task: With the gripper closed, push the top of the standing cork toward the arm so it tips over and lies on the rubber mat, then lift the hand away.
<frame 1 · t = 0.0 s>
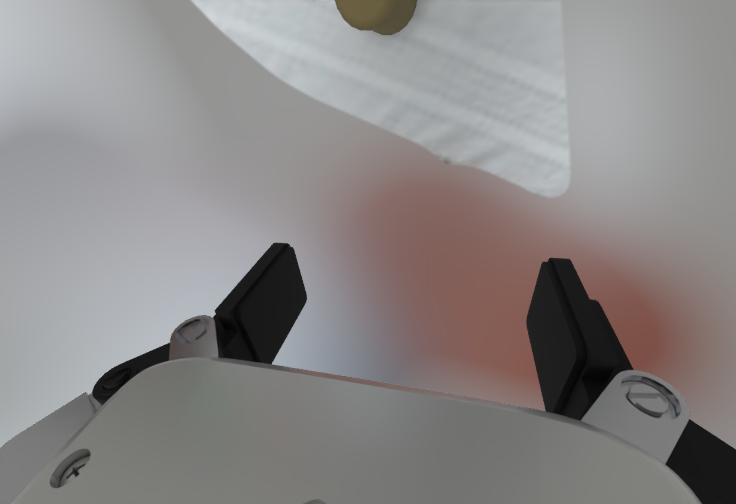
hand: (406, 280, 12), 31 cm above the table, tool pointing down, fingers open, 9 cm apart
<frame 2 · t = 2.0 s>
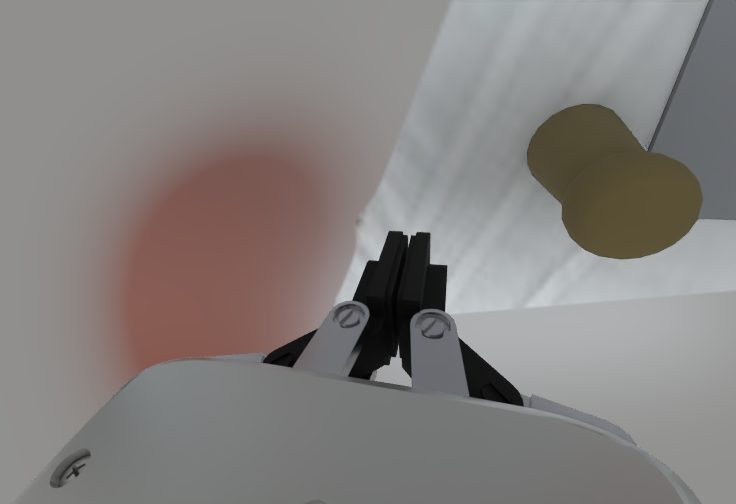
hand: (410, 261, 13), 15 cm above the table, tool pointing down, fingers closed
cork: (572, 148, 22), on the table
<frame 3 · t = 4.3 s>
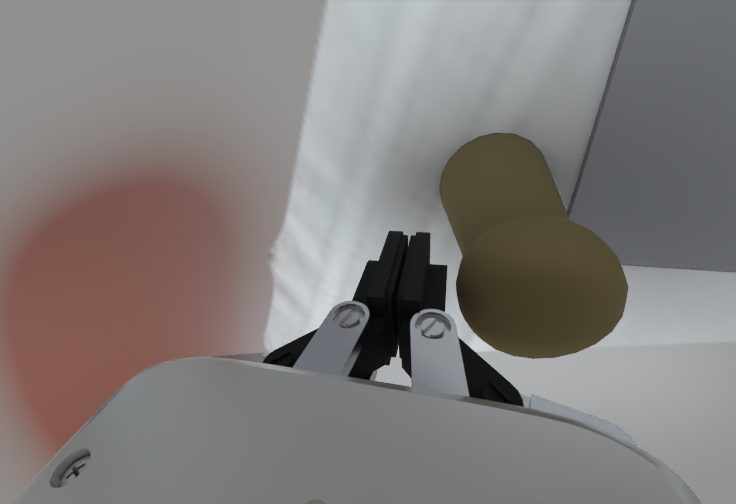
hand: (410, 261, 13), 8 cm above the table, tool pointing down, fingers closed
cork: (491, 184, 19), on the table, touching gripper
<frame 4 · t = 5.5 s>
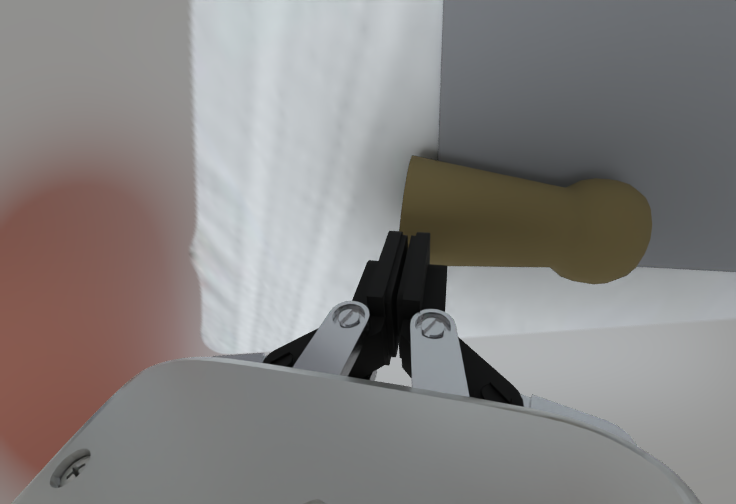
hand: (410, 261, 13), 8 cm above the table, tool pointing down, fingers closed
cork: (402, 211, 17), point 3 cm above the table, touching rubber mat
rubber mat: (620, 148, 16), on the table
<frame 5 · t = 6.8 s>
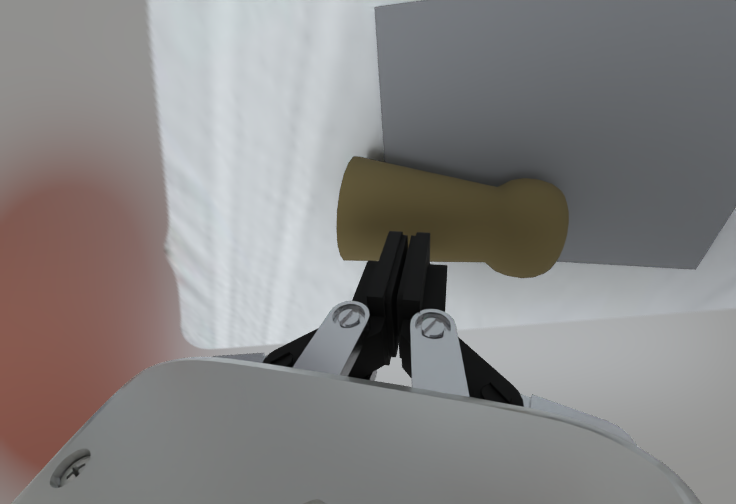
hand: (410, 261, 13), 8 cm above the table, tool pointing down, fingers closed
cork: (349, 209, 18), point 3 cm above the table, touching rubber mat
rubber mat: (550, 149, 17), on the table
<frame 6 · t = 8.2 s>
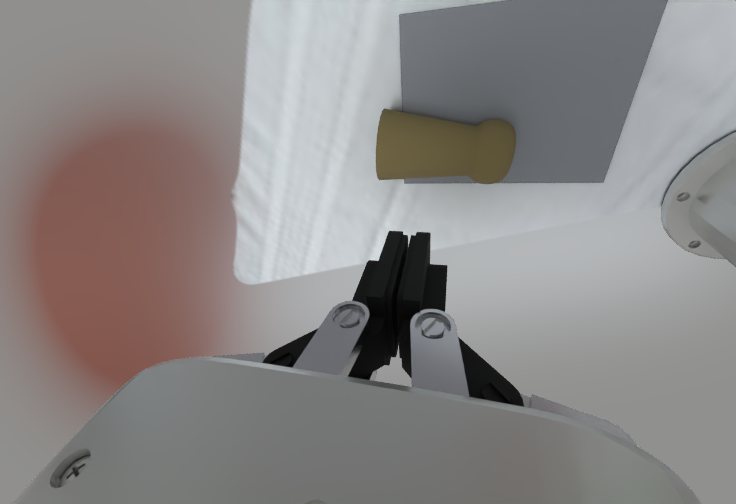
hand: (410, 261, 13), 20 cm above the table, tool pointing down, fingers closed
cork: (380, 145, 28), point 3 cm above the table, touching rubber mat
rubber mat: (507, 103, 26), on the table
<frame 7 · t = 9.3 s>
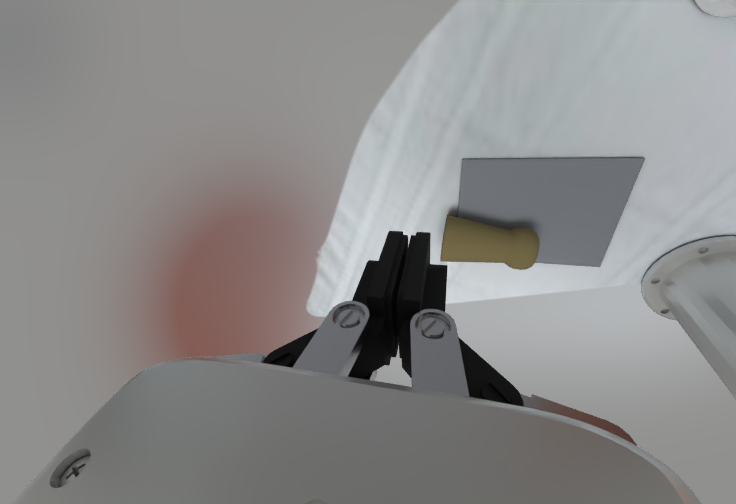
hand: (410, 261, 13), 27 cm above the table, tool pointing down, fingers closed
cork: (442, 238, 40), point 3 cm above the table, touching rubber mat
rubber mat: (533, 214, 38), on the table
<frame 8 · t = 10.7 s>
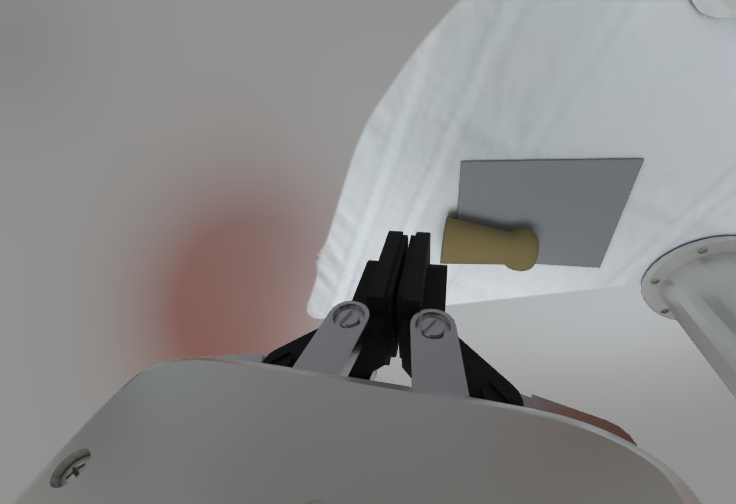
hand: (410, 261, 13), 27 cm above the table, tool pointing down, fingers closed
cork: (442, 240, 40), point 3 cm above the table, touching rubber mat
rubber mat: (533, 215, 38), on the table
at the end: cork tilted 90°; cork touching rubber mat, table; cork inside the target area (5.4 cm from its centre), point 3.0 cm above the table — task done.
